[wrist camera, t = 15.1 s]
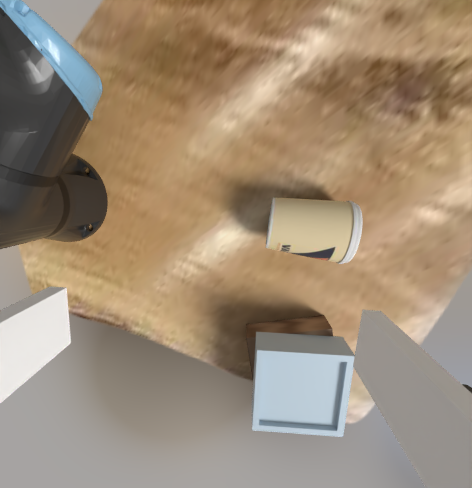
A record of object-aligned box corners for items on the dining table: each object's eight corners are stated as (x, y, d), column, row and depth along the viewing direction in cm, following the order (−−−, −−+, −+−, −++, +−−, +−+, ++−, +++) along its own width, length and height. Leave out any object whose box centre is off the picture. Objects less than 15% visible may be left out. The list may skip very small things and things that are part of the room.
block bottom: (256, 388, 50) (257, 409, 45) (246, 323, 47) (246, 338, 43) (329, 381, 49) (338, 402, 44) (323, 314, 46) (332, 328, 42)
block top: (251, 404, 45) (252, 430, 40) (256, 331, 42) (257, 350, 37) (332, 409, 45) (343, 436, 40) (342, 336, 42) (355, 356, 37)
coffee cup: (265, 257, 35) (356, 270, 34) (275, 187, 34) (368, 198, 33) (264, 249, 44) (335, 259, 43) (272, 195, 43) (345, 204, 42)
